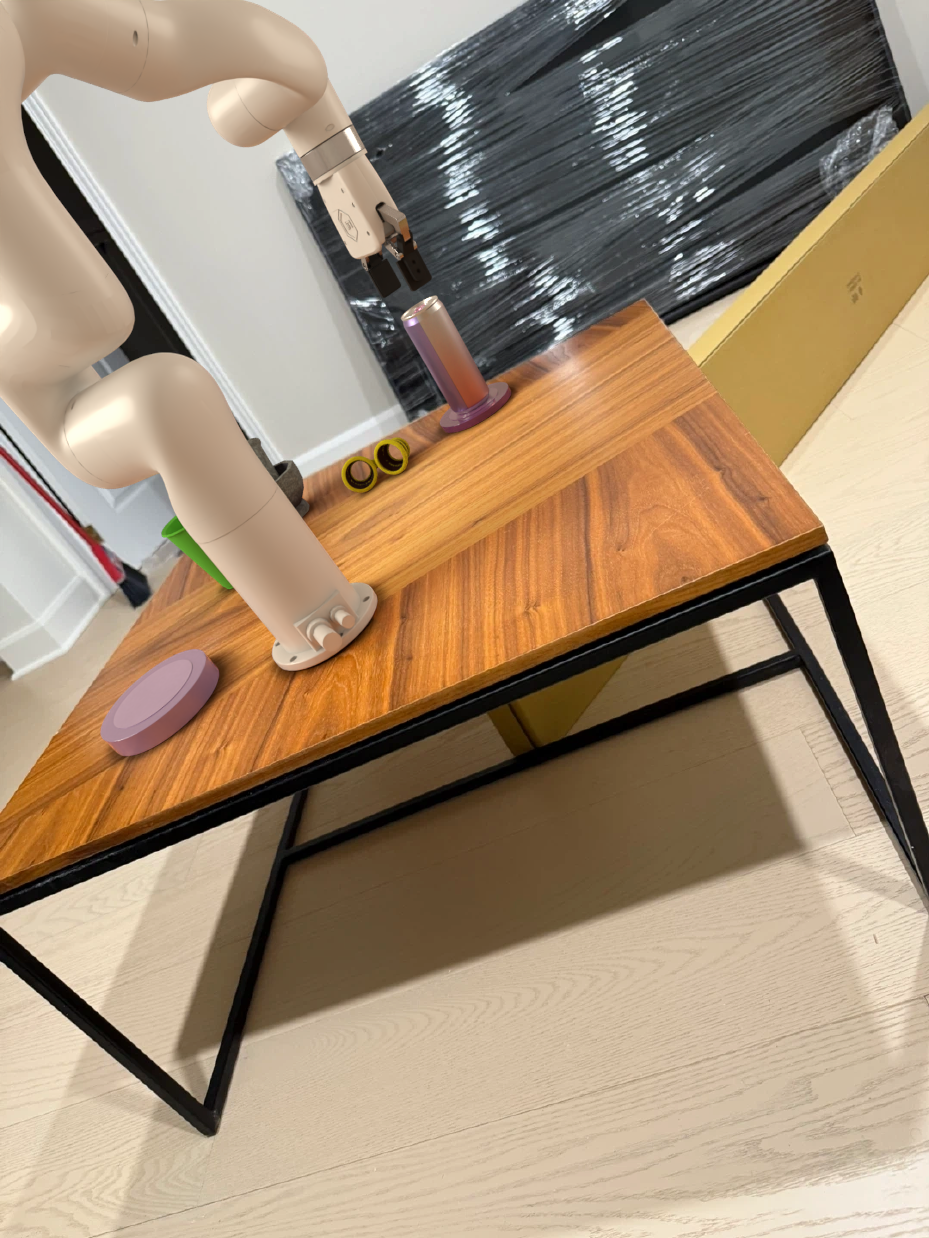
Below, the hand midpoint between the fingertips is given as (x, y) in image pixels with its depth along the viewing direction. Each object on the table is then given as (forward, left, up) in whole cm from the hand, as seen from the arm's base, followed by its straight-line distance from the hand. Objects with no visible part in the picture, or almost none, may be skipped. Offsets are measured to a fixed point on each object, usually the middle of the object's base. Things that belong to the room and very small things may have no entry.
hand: (406, 289), depth 109 cm
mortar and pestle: (+14, +28, -19) cm, 36 cm away
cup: (+6, +40, -19) cm, 44 cm away
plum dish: (0, 0, -19) cm, 19 cm away
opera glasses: (+2, +16, -19) cm, 25 cm away
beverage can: (0, 0, -18) cm, 18 cm away
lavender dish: (-14, +56, -19) cm, 61 cm away
